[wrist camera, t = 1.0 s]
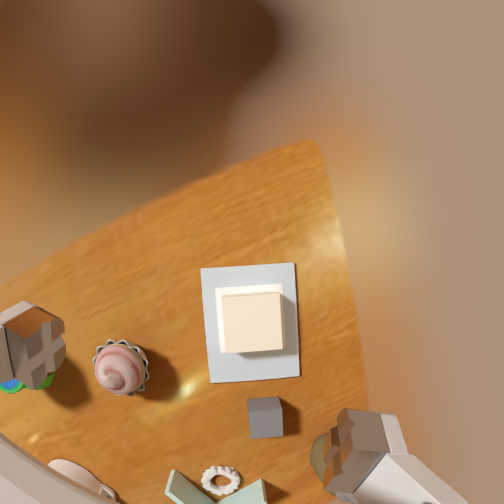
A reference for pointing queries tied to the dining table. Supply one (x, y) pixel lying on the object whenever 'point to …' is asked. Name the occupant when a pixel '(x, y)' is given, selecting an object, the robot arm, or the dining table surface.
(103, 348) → the cupcake
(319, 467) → the squeeze bottle
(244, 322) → the cream base block
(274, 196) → the dining table surface
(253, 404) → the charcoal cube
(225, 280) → the light grey flat slab
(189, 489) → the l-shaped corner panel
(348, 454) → the robot arm
